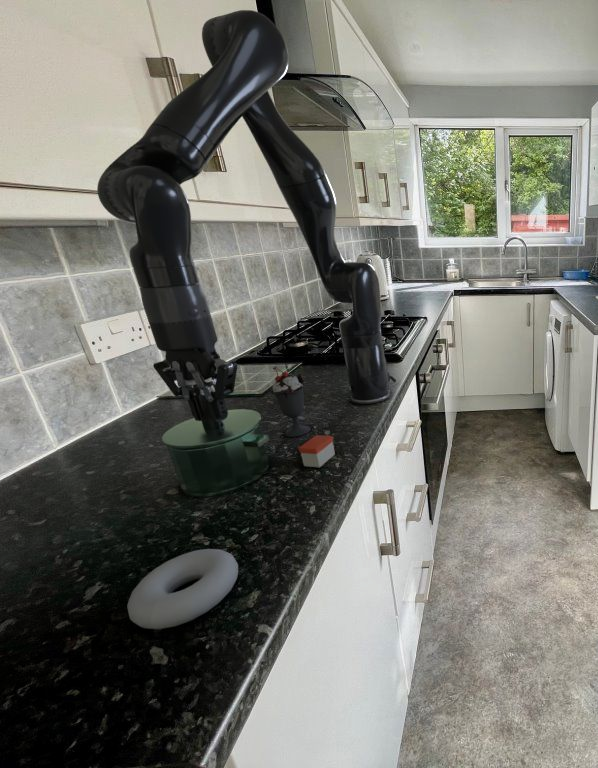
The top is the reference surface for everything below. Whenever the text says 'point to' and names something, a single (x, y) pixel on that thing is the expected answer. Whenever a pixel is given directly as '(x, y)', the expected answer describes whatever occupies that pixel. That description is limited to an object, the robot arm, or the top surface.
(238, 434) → the lid
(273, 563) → the top surface
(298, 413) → the sundae
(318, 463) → the block
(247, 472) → the pot
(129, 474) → the top surface
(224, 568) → the donut
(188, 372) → the robot arm
